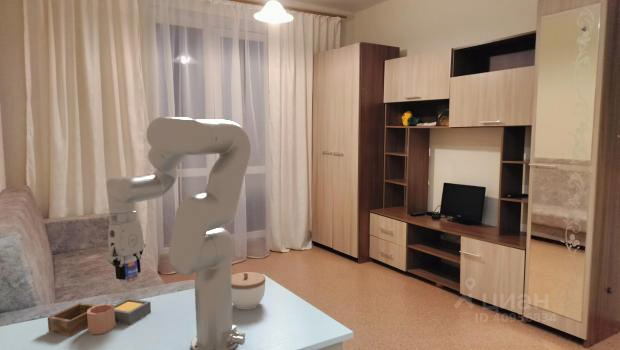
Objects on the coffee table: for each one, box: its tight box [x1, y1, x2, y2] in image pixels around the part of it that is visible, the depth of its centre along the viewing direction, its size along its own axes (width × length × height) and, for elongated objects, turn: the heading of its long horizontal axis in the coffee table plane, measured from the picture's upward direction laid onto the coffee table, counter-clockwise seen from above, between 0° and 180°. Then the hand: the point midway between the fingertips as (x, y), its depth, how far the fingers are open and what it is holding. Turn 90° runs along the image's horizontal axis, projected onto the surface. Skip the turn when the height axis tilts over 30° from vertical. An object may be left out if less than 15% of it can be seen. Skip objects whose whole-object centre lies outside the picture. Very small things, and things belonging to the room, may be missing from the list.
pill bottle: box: [118, 254, 139, 285], centre depth 127 cm, size 5×5×10 cm
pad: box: [114, 301, 142, 312], centre depth 129 cm, size 6×6×1 cm
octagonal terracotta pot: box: [87, 303, 116, 335], centre depth 121 cm, size 7×7×6 cm
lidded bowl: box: [231, 271, 266, 311], centre depth 136 cm, size 13×13×11 cm
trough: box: [47, 302, 97, 337], centre depth 123 cm, size 8×11×4 cm
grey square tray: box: [113, 297, 152, 325], centre depth 129 cm, size 9×9×4 cm
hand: (128, 275), depth 128 cm, fingers closed on pill bottle, 5 cm apart
